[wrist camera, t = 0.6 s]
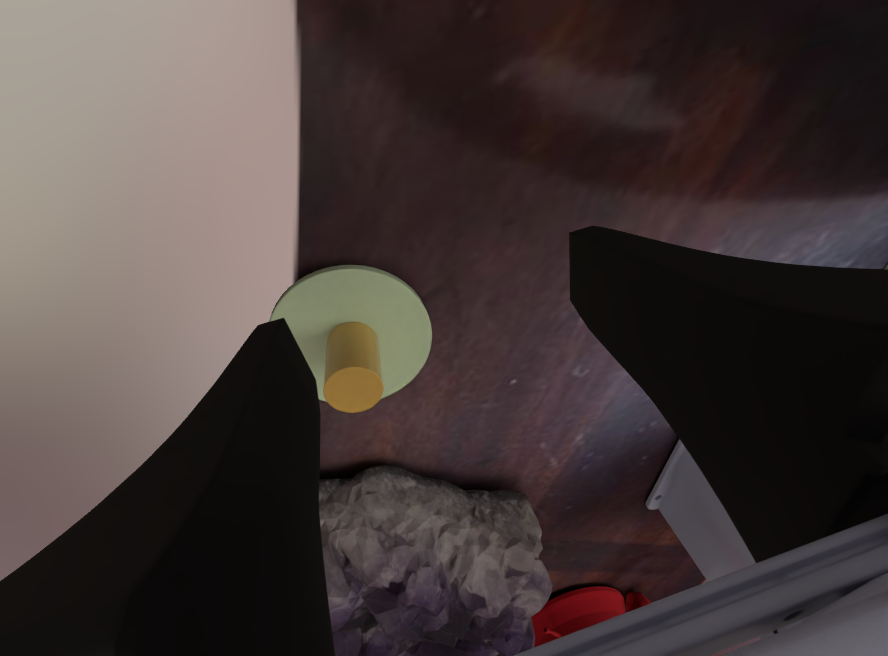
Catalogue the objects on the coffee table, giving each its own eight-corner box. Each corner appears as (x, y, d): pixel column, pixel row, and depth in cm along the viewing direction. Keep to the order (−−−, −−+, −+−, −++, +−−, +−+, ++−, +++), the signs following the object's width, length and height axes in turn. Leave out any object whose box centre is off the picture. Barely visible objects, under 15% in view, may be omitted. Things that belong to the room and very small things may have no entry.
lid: (422, 388, 24) (436, 450, 20) (277, 393, 23) (263, 462, 19) (435, 260, 20) (456, 308, 17) (262, 256, 19) (240, 308, 15)
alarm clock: (550, 630, 35) (715, 663, 37) (538, 557, 41) (682, 589, 43) (505, 688, 40) (652, 716, 42) (499, 616, 46) (630, 643, 47)
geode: (213, 561, 29) (154, 755, 20) (256, 419, 25) (208, 577, 16) (483, 586, 36) (529, 740, 27) (547, 477, 32) (625, 611, 23)
